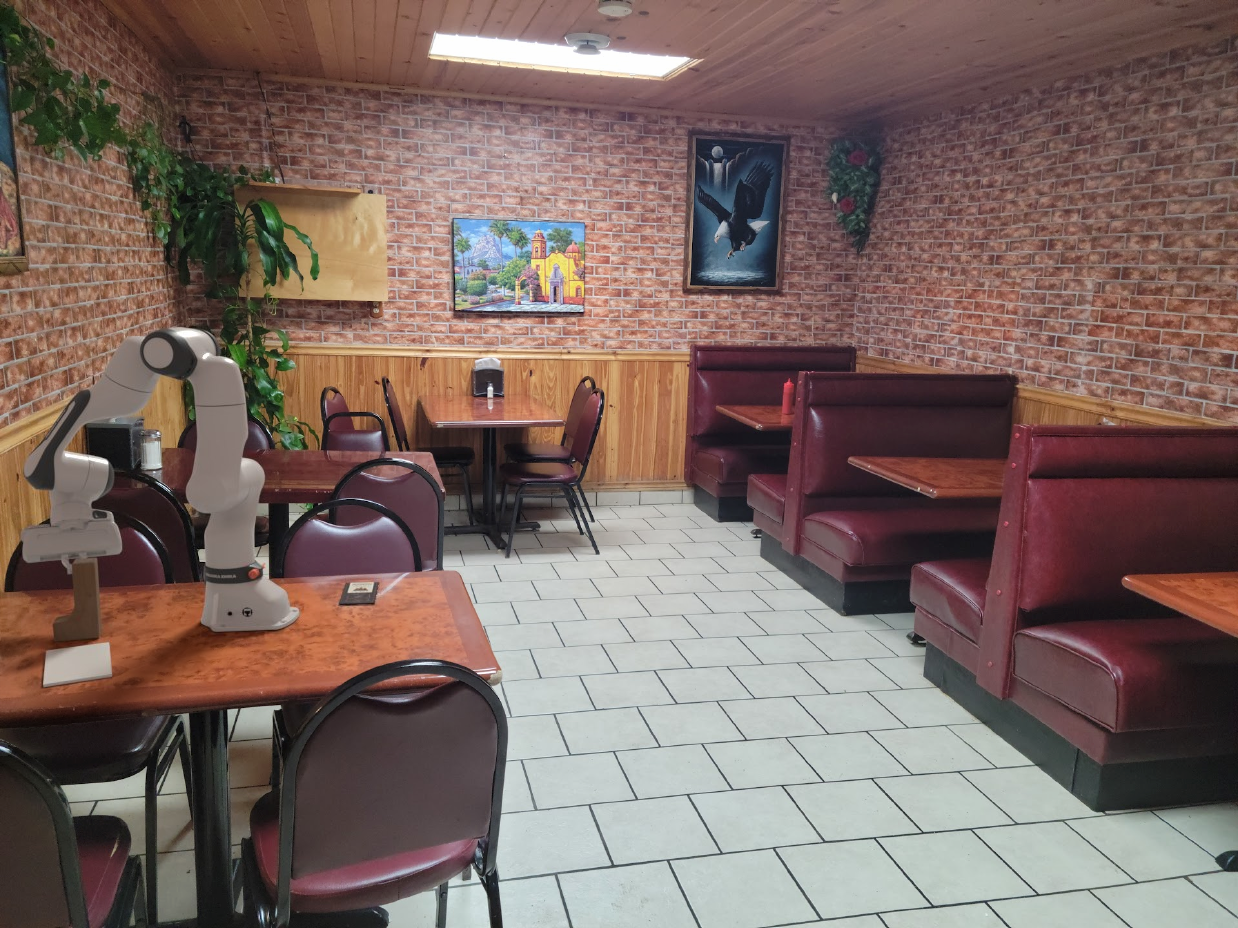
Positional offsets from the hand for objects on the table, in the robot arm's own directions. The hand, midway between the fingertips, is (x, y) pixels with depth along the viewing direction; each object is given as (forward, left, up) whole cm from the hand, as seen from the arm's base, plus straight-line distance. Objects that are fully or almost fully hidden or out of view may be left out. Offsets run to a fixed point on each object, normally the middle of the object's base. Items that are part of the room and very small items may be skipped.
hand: (74, 572), depth 213 cm
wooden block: (-4, +6, -13) cm, 15 cm away
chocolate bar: (-58, -30, -14) cm, 67 cm away
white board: (-13, +22, -13) cm, 29 cm away
